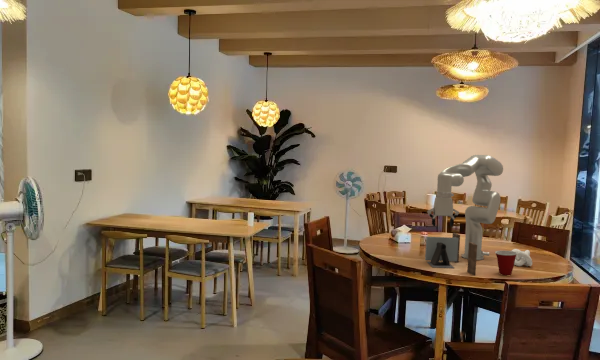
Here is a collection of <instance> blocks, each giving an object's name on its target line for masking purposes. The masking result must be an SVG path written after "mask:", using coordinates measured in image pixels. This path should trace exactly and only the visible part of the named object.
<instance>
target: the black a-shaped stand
mask: <svg viewBox="0 0 600 360" xmlns="http://www.w3.org/2000/svg"><path fill="white" fill-rule="evenodd" d="M436 245H437V247H436V250H435V252H434V255H433V257H432V260H430V261H429V262H430V263H432V264H433V265H435V266H442V265H443V266H450V265H451V263H450V261H449V259H448V256H447V252H446V245H445V244H443V243H441V242H440V243H439V242H438V243H437V244H436ZM440 256H441V257H442V261H439V260H440Z"/></svg>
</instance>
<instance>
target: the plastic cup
mask: <svg viewBox="0 0 600 360" xmlns="http://www.w3.org/2000/svg"><path fill="white" fill-rule="evenodd" d="M494 253H495V256H496V259H497V267H498V273H500V274H499V275H501V274H502V276H507V275H510V276H511V275H512V274H513V269H514V266H515V265H514V262H515V259H516V255H517V252H514V251H512V250H496V251H495V252H494Z"/></svg>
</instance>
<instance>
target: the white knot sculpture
mask: <svg viewBox="0 0 600 360" xmlns="http://www.w3.org/2000/svg"><path fill="white" fill-rule="evenodd" d="M511 251H514V252H517V255H516V259H515V262H514V266H515V265H516V266H515V267H522V266H523V265H524V266H526V267H528V266H530V267H531V266H533V259H532V258H531V256H530V255H531V252H530V250H529V249H526V250H524V251H522V250H520V249H518V248H513V249H512V250H511Z"/></svg>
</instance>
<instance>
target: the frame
mask: <svg viewBox="0 0 600 360" xmlns="http://www.w3.org/2000/svg"><path fill="white" fill-rule="evenodd" d="M451 238H458V253H457V261H453V263H459V261H460V245H461V244H460V243H461V234H459V233H457V232H452V237H451ZM476 258H477V244H475V243H473V242H469V250H468V259H467V270H466V272H467V273H469V274H470V275H471V276H476V272H477V270H476V269H477V260H476Z"/></svg>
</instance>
